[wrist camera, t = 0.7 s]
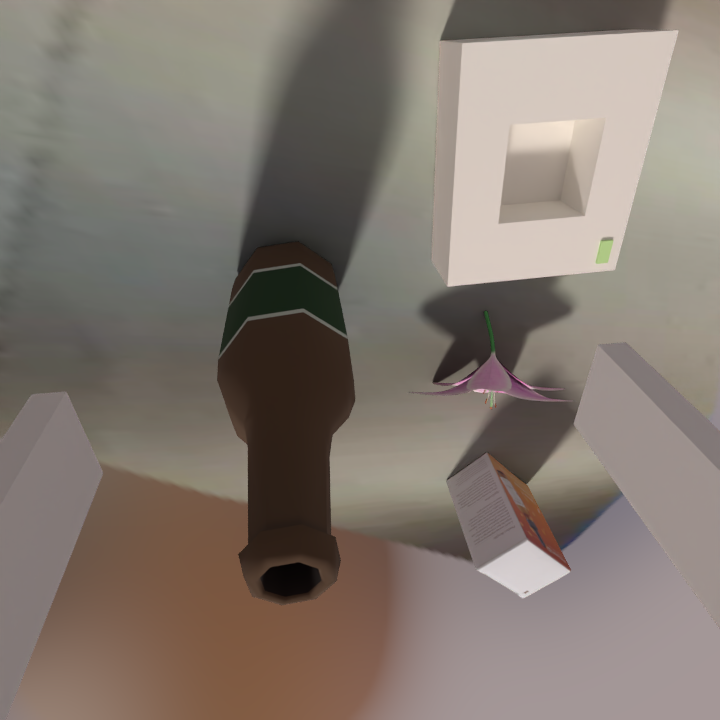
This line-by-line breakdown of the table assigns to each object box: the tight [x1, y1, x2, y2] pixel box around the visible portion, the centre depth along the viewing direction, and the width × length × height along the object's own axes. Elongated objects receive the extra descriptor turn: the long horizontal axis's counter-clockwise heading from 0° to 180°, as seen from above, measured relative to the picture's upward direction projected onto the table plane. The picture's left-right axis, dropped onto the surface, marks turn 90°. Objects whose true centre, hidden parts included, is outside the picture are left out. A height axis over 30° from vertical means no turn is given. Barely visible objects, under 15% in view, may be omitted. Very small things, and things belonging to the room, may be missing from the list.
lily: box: [409, 311, 571, 410], centre depth 40 cm, size 12×12×10 cm
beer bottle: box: [217, 242, 355, 605], centre depth 27 cm, size 8×8×24 cm
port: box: [431, 29, 679, 287], centre depth 32 cm, size 14×12×5 cm
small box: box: [447, 453, 571, 598], centre depth 48 cm, size 8×6×10 cm
